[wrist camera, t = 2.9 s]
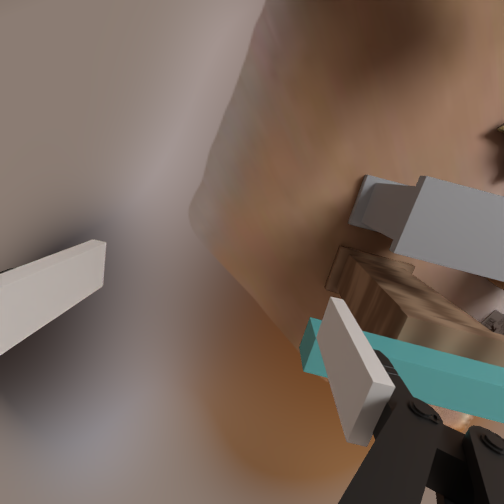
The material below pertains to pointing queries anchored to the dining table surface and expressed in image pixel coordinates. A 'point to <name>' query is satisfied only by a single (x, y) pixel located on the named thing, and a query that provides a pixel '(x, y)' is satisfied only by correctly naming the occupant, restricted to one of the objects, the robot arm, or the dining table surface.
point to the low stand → (436, 222)
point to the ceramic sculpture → (501, 128)
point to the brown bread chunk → (497, 283)
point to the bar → (427, 374)
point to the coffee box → (495, 322)
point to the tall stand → (408, 307)
